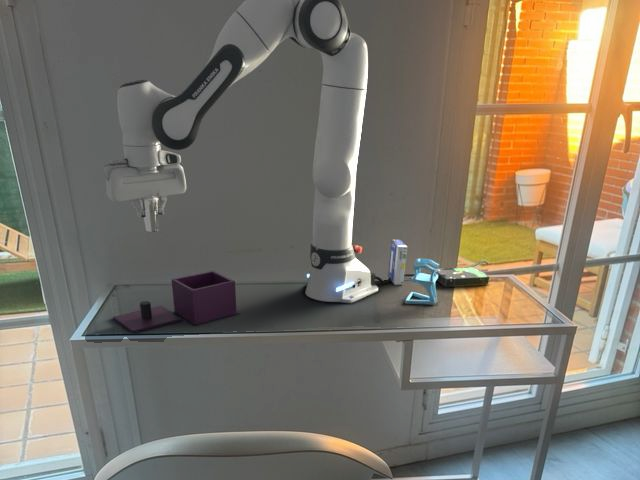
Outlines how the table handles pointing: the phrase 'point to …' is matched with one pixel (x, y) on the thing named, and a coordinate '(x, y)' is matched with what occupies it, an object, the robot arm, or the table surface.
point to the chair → (424, 282)
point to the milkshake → (151, 213)
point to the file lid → (146, 318)
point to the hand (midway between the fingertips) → (151, 215)
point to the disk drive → (461, 276)
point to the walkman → (397, 262)
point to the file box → (204, 297)
